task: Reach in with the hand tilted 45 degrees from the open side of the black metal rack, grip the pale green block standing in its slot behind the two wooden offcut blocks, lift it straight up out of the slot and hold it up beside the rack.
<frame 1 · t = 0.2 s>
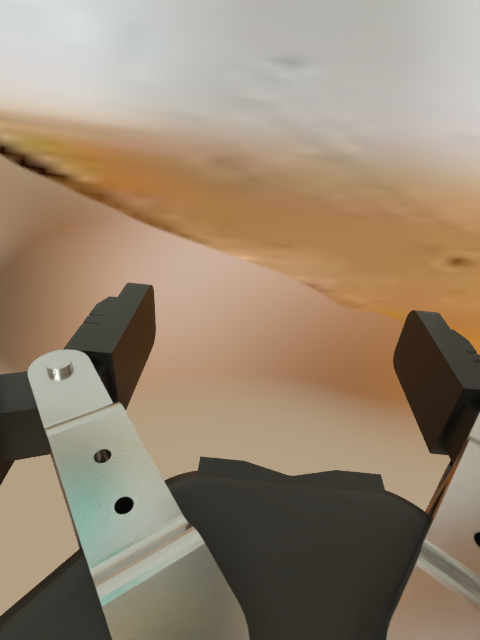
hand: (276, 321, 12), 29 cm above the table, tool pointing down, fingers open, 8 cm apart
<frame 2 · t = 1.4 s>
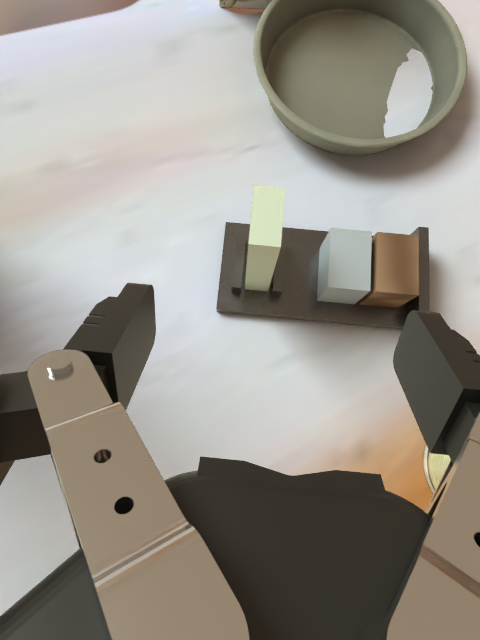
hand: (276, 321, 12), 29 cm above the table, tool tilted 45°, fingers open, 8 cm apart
cake pan: (349, 82, 49), on the table
offcut b: (378, 279, 42), point 1 cm above the table, touching rack
offcut a: (336, 275, 42), point 1 cm above the table, touching rack
pale green block: (258, 268, 42), point 1 cm above the table, touching rack
rack: (257, 271, 43), on the table
coffee can: (471, 465, 39), on the table
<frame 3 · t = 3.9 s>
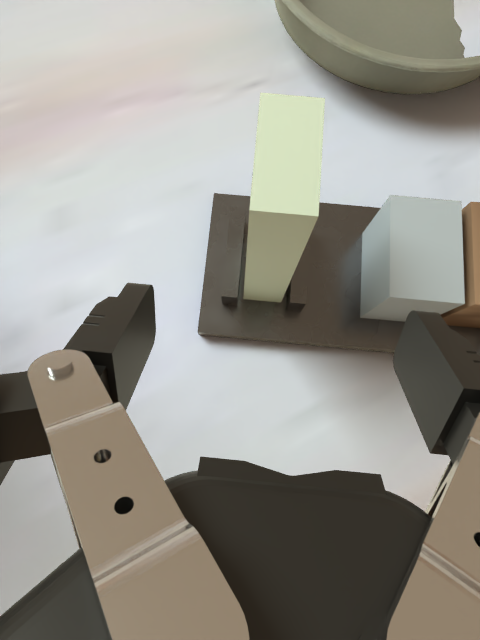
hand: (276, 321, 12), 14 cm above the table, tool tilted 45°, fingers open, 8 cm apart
offcut b: (458, 282, 26), point 1 cm above the table, touching rack
offcut a: (390, 277, 26), point 1 cm above the table, touching rack
pale green block: (265, 265, 26), point 1 cm above the table, touching rack
rack: (264, 270, 27), on the table
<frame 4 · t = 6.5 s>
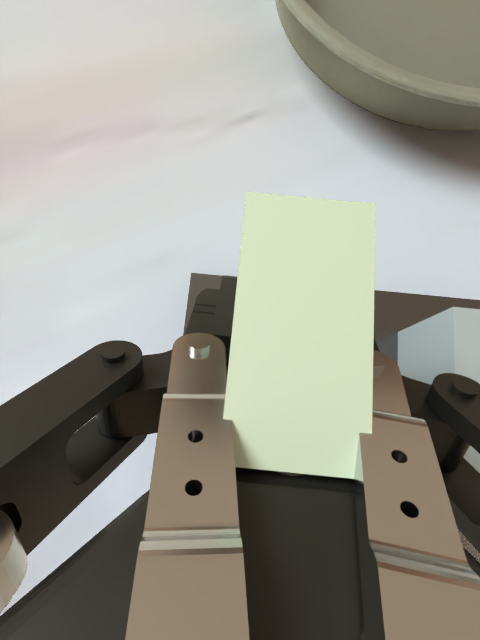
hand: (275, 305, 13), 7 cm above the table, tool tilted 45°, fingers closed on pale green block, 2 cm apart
offcut a: (439, 397, 18), point 1 cm above the table, touching rack
pale green block: (260, 379, 19), point 1 cm above the table, touching gripper, rack
rack: (260, 380, 20), on the table
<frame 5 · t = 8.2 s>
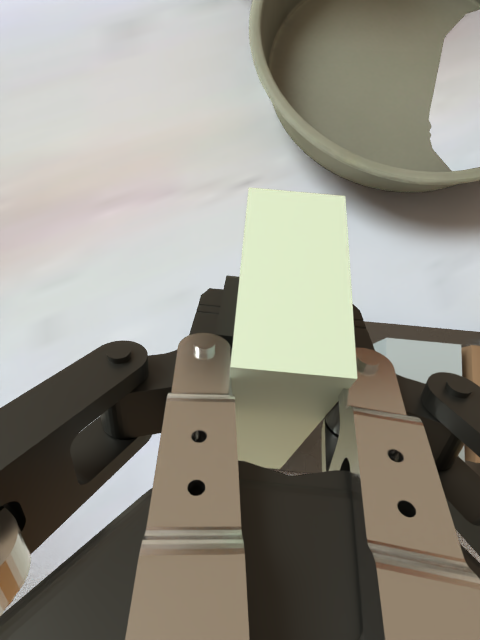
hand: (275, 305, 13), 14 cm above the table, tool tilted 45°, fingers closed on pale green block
cake pan: (395, 80, 32), on the table
offcut b: (459, 405, 25), point 1 cm above the table, touching rack
offcut a: (388, 399, 25), point 1 cm above the table, touching rack
pale green block: (256, 413, 19), point 7 cm above the table, tilted 16°, touching gripper
rack: (256, 387, 26), on the table
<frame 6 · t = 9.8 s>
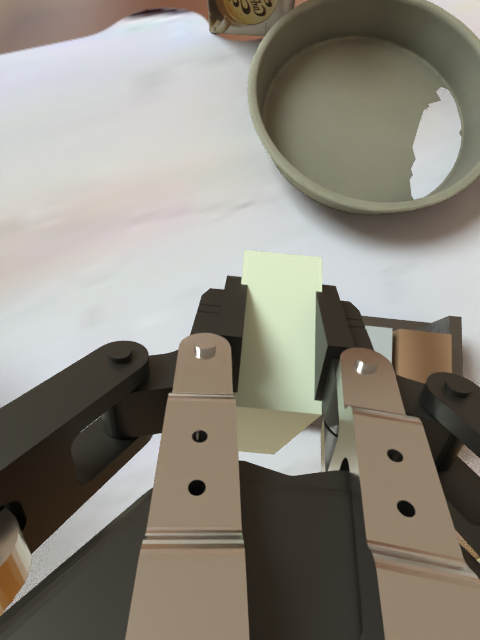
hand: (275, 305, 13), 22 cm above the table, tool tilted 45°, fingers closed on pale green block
cake pan: (362, 125, 41), on the table
offcut b: (398, 375, 34), point 1 cm above the table, touching rack
offcut a: (346, 369, 34), point 1 cm above the table, touching rack
pale green block: (254, 406, 22), point 12 cm above the table, tilted 12°, touching gripper
rack: (249, 360, 35), on the table
coffee box: (250, 15, 44), on the table
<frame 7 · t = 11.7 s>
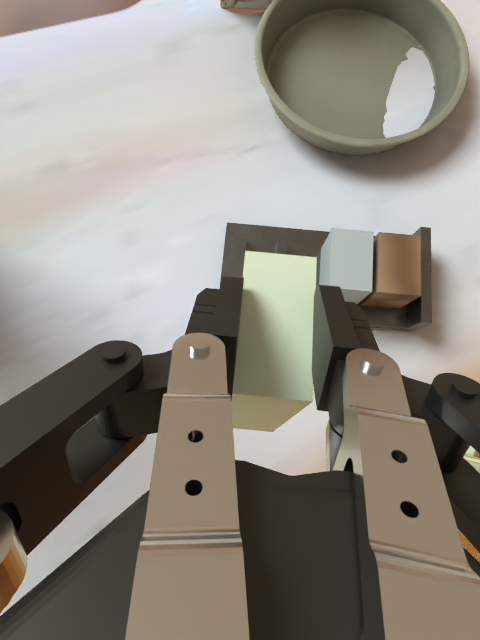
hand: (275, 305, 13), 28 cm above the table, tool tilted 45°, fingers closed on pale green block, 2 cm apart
cake pan: (350, 82, 49), on the table
offcut b: (380, 280, 42), point 1 cm above the table, touching rack
offcut a: (338, 276, 42), point 1 cm above the table, touching rack
pale green block: (255, 388, 24), point 16 cm above the table, tilted 8°, touching gripper
rack: (258, 271, 43), on the table
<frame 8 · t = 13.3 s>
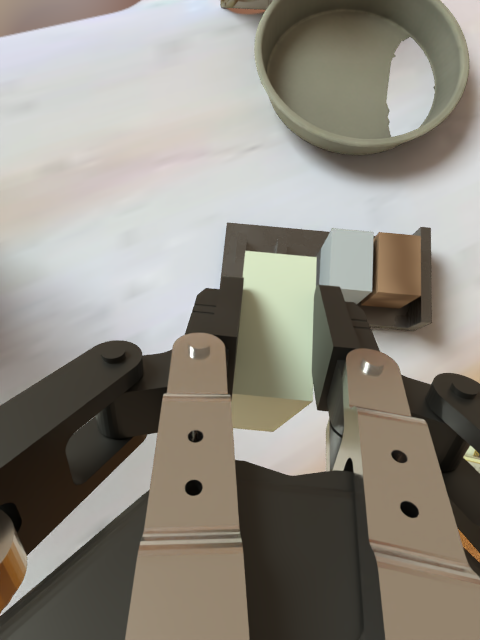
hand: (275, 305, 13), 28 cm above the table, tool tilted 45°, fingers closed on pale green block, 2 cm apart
cake pan: (350, 82, 49), on the table
offcut b: (380, 280, 42), point 1 cm above the table, touching rack
offcut a: (338, 276, 42), point 1 cm above the table, touching rack
pale green block: (255, 388, 24), point 16 cm above the table, tilted 8°, touching gripper
rack: (258, 271, 43), on the table
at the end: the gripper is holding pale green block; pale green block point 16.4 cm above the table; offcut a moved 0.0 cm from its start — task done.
